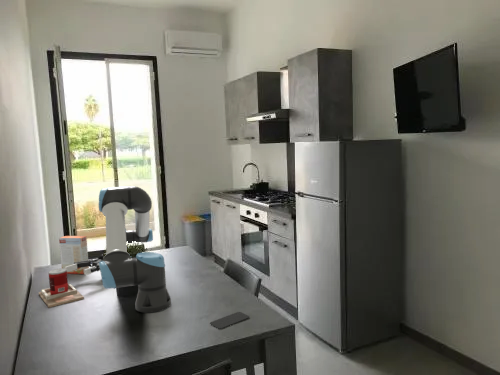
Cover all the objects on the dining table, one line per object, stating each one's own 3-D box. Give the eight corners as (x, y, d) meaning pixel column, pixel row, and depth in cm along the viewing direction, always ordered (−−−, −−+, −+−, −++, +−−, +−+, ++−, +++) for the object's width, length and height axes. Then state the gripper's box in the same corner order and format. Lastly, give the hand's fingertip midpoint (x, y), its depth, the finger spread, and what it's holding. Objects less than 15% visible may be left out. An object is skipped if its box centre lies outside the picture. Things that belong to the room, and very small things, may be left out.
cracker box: (89, 271, 227) (87, 235, 225) (83, 274, 222) (80, 238, 220) (68, 270, 231) (65, 235, 229) (61, 273, 225) (58, 237, 223)
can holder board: (84, 298, 184) (83, 293, 184) (48, 307, 175) (48, 302, 175) (71, 287, 201) (71, 282, 201) (38, 294, 192) (38, 289, 192)
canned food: (71, 289, 194) (69, 268, 193) (62, 296, 186) (60, 273, 185) (56, 289, 195) (54, 268, 194) (46, 295, 187) (44, 273, 186)
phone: (208, 322, 153) (239, 311, 162) (208, 324, 153) (239, 313, 162) (219, 328, 147) (250, 316, 157) (219, 331, 147) (250, 318, 157)
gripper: (125, 268, 212) (93, 281, 193) (92, 264, 223) (59, 275, 204) (124, 255, 211) (92, 266, 192) (91, 251, 222) (57, 261, 204)
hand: (75, 271), depth 198 cm, fingers open, 13 cm apart
